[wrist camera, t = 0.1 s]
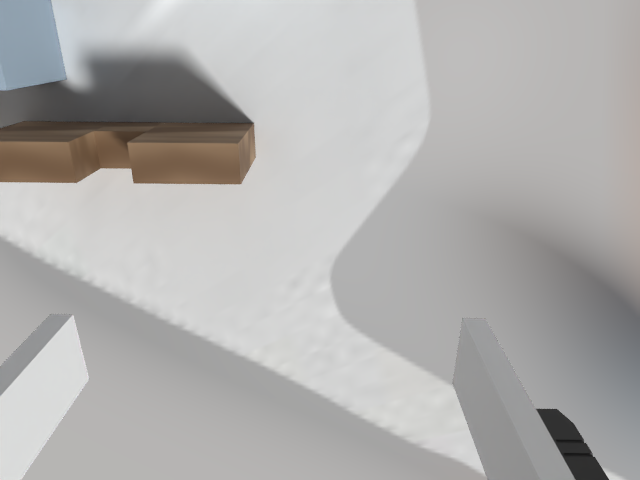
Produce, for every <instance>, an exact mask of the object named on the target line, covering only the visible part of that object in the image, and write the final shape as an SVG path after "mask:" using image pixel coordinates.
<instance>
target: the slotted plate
mask: <svg viewBox="0 0 640 480" xmlns="http://www.w3.org/2000/svg"><path fill="white" fill-rule="evenodd" d="M65 79H67V78H66V73H65V68H64V63H63V58H62V53H61V48H60V44H59V39H58V34H57V29H56V24H55V19H54V14H53V9H52V4H51V0H0V90H12V89H17V88H23V87H28V86H33V85H39V84H44V83H49V82H55V81H60V80H65Z"/></svg>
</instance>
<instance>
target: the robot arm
mask: <svg viewBox="0 0 640 480" xmlns="http://www.w3.org/2000/svg"><path fill="white" fill-rule="evenodd" d="M88 380H89V377H88V372H87V368H86V364H85V361H84V356H83V352H82V349H81V344H80V340H79V336H78V332H77V328H76V324H75V321H74V316H73V315H72V314H50V315H49V316H48V317H47V318H46V320H44V321H43V322H42V324H41V325H40V326H39V327H38V328H37V329H36V330H35V331H34V332H33V333H32V334H31V335H30V336H29V337H28V338H27V339H26V340H25V341H24V342H23V343H22V344H21V345H20V346H19V347H18V348H17V349H16V350H15V351H14V353H13V354H12V355H11V356H10V357H9V358H8V359H7V360H6V361H5V362H4V363H3V364H2V365H1V366H0V480H21V479H22V477H23V476H24V474H25V473H26V471H27V470H28V469H29V467H30V466H31V464H32V462H33V461H34V460H35V458H36V457H37V455H38V454H39V452H40V451H41V449H42V448H43V446H44V445H45V443H46V442H47V441H48V439H49V438H50V436H51V435H52V433H53V432H54V430H55V429H56V427H57V426H58V424H59V423H60V421H61V420H62V418H63V417H64V415H65V414H66V412H67V411H68V409H69V408H70V407H71V405H72V404H73V402H74V401H75V399H76V398H77V396H78V395H79V393H80V392H81V390H82V389H83V387H84V386H85V384H86V383H87V381H88ZM453 386H454V388H455V391H456V394H457V397H458V399H459V402H460V405H461V408H462V410H463V413H464V416H465V419H466V421H467V424H468V427H469V430H470V432H471V435H472V438H473V441H474V443H475V446H476V449H477V452H478V454H479V457H480V460H481V463H482V465H483V468H484V471H485V474H486V476H487V479H488V480H609V479H608V477H607V476H606V474H605V472H604V471H603V469H602V468H601V466H600V465H599V463H598V461H597V460H596V458H595V457H593V455H592V452H591V450H590V449H589V447H588V446H587V444H586V443H584V439H583V438H582V436H581V435H580V433H579V432H578V430H577V428H576V427H575V425H574V424H573V423H572V422H571V421H570V420H569V419H568V418H567V417H565V416H564V415H563V414H562V413H561V412H560V411H559V410H557V409H536V408H535V407H534V405H533V403H532V401H531V399H530V398H529V396H528V394H527V392H526V390H525V389H524V387H523V385H522V383H521V381H520V380H519V378H518V376H517V374H516V373H515V371H514V369H513V367H512V365H511V364H510V362H509V360H508V358H507V356H506V355H505V353H504V351H503V349H502V347H501V346H500V344H499V342H498V340H497V338H496V337H495V335H494V333H493V331H492V329H491V328H490V326H489V324H488V322H487V321H486V319H485V318H462V324H461V331H460V337H459V344H458V350H457V358H456V364H455V371H454V377H453Z"/></svg>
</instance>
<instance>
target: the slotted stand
mask: <svg viewBox="0 0 640 480" xmlns="http://www.w3.org/2000/svg"><path fill="white" fill-rule="evenodd" d="M255 158H256V156H255V136H254V123H165V122H42V121H23V122H20V123H17V124H13V125H10V126H7V127H3V128H0V182H50V183H77V182H79V181H81V180H82V179H84V178H85V177H87V176H89V175H90V174H92V173H94V172H95V171H97V170H99V169H100V168H131V169H132V176H133V182H134V183H162V184H241V183H242V181H243V179H244V178H245V176H246V174H247V172H248V170H249V168H250V167H251V165H252V163H253V161H254V159H255Z"/></svg>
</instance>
